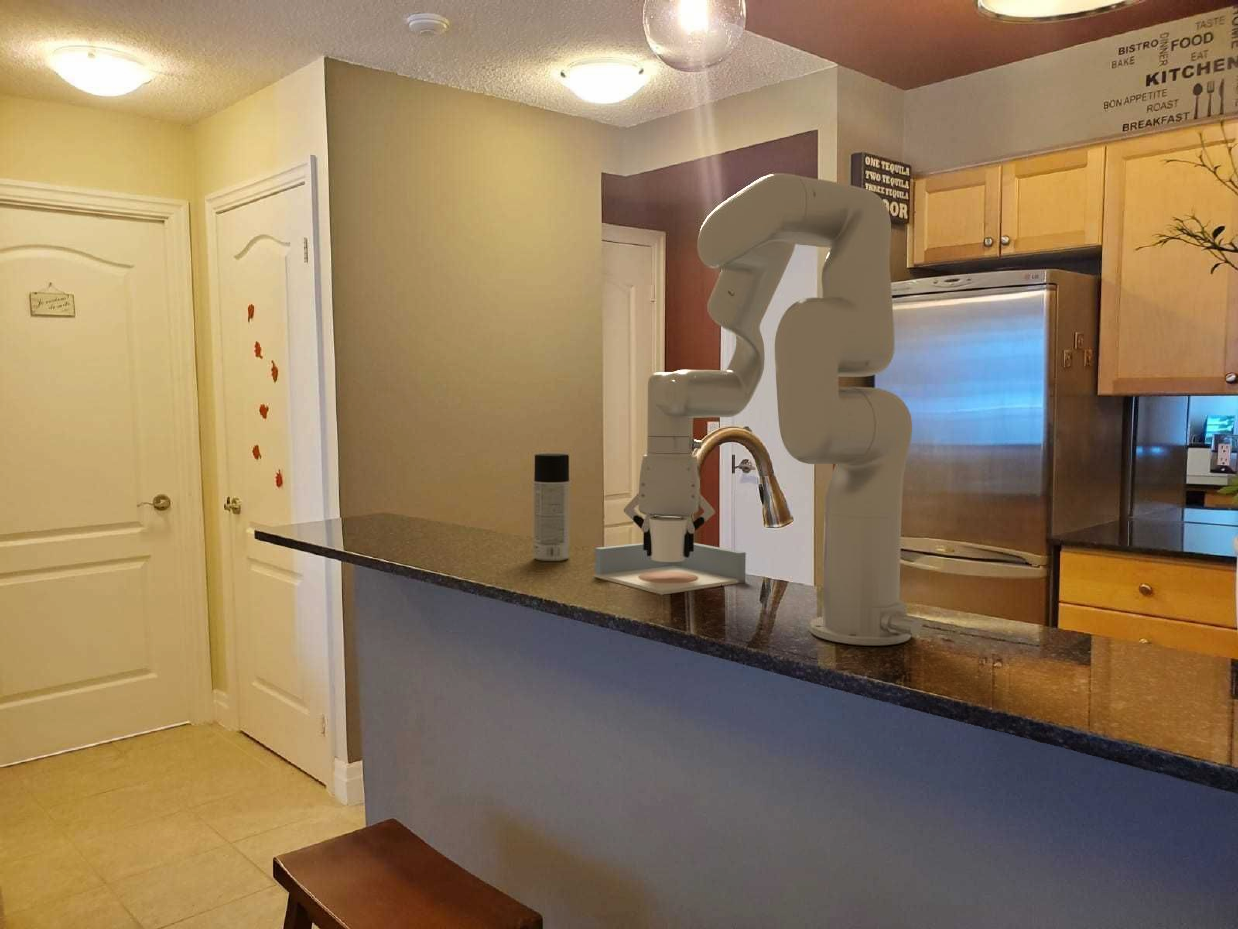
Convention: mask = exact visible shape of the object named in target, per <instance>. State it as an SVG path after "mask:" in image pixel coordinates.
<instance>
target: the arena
mask: <svg viewBox="0 0 1238 929" xmlns="http://www.w3.org/2000/svg"><path fill="white" fill-rule="evenodd" d="M746 558H747V553H746V551H740V550H735V549H729V548H723V547H718V546H713V545H708V544H703V543H702V544H701V543H697V542H694V551H693V552H690V555H689V557H685V560H684V561H680V562H660V561H654V560H652V559H651V556H647V550H643V542H640V543H631V544H630V543H629V544H620V545H619V544H618V545H611V546H600V547H594V577H595V578H597V579H602V580H605V581H608V582H612V583H617V584H620V585H624V586H628V587H631V588H635V589H639V590H643V591H646V592H649V593H650V592H651V593H654V594H658V595H662V596H664V595H667V594H669V595H670V594H677V593H682V592H689V591H697V590H701V589H702V590H703V589H710V588H716V587H721V585H722V587H723V586H729V585H734V584H735V585H736V584H742V583H746V563H747V562H746V560H747V559H746Z"/></svg>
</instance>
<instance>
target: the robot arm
mask: <svg viewBox="0 0 1238 929" xmlns="http://www.w3.org/2000/svg"><path fill="white" fill-rule="evenodd" d="M891 240H892V222H891V216H890V211H889V209H888V207H887V205H886V203H885V201H884V200H883V199H882V198H881V197H880V196H879V195H878V194H876V192H873V191H871V190H869V189H867V188H862V187H860V186H855V185H851V184H846V183H843V182H837V181H831V180H826V179H821V178H813V177H809V176H808V177H807V176H802V175H797V174H792V173H782V172H779V173H778V172H777V173H776V172H775V173H771V174H767V175H764V176H762V177H760V178H759V179H757V180H755V181H753V182H752V183H751V184H749V185H747V186H746V187H744V188H743V189H741V190H740V191H738V192H737V193H736V194H733V195H732V196H731V197H729V198H727V200H725V201H723V202H722V203H721V204H719V205H718V206H717V207H715V209H713V211H711V213H710V214H709V215H707V217H706V219H705V220H704V222H703V223H702V225H701V228H700V230H699V232H698V237H697V240H696V241H697V243H696V245H697V248H696V250H697V253H698V256H699V259H700V262H702V263H703V264H704V265H705V266H706V267H708V268H711V269H714V270H721V271H720V273H719V276H718V278H717V280H716V282H715V285H714V287H713V289H712V292H711V295H710V296H709V299H708V301H707V304H706V309H707V313H708V315H709V317H710V318H711V319H712V321H714V322H715V323H716V324H717V325H719V326H720V327H722V328H723V329H724V330H726V331H727V332H729V333H731V334H732V335H735V348H734V351H733V355H732V357H731V360H730V361H729V364H728V365H727V368H726V370H717V369H716V370H713V369H680V370H676V371H672V372H671V371H670V372H668V371H667V372H666V371H665V372H655V373H653V374H651V375H650V376H649V378H648V381H647V429H646V430H647V433H646V435H647V436H646V437H647V438H646V439H647V441H646V452H647V453H646V454H643V456H642V461H641V466H640V473H639V482H638V483H639V484H638V492H637V494H636V495H635V496H634V498H632V499H631V500H630V501H629V503H628V504H626V506H624V508H623V513H625V514H626V515H627V516H628V518H630V519H631V520H632V521H633V522H634V523H635V524H636V525H637V526H638V527H639V528H640V529H641V531H642V532H643V536H642V537H643V538H642V539H643V542H642V543H643V550H647V556H651V534H650V530H649V527H650V524H649V519H650V518H653V517H654V516H681V517H683V518H684V520H687V524H686V527H687V533H686V534H685V539H684V557H689V555H690V552H693V551H694V543H695V532H696V531H697V530H698V529H699V528H700V527H702V525H704V524H705V522H706V521H708V520H709V519H710V518H711V517H712V516H714V515H715V509H714V508H713V507H712V506H711V504H710V503H709V502H708V501H707V500H706V499H705V498H704V496H703V495H701V482H700V480H701V477H700V466H699V460H698V456H697V455H693V452H694V451H696V450H701V449H702V440H697V439H695V438H694V434H693V433H694V432H693V430H694V418H695V419H697V418H698V419H700V418H731V417H735V416H738V414H740V413H742V412H743V411H744V410H745V409H746V407H747V406H748V405H749V403H750V402H751V400H752V399H753V396H754V394H755V392H756V390H757V388H758V386H759V385H760V384H759V383H760V382H761V379H762V376H763V373H764V369H765V344H764V338H763V336H762V332H761V327H760V326H761V324H762V321H763V319H764V316H765V314H766V312H767V310H768V309H769V306H770V304H771V301H772V299H773V298H774V295H775V293H776V291H777V289H778V287H779V285H780V282H781V280H782V278H783V275H784V274H785V271H786V270H787V269H786V268H787V266H788V264H789V262H790V261H791V258H792V256H793V253H794V251H795V247H796V245H799V246H809V247H818V248H830V249H829V251H828V252H827V254H826V257H825V259H824V263H823V264H822V265H823V266H822V269H821V270H822V271H821V287H822V290H821V291H822V297H807V298H803V299H800V300H798V301H796V302H794V303H792V304H791V305H790V306H789V307H788V308H787V309H786V310H785V312H784V314H783V315H782V317H781V319H780V321H779V323H778V326H777V329H776V333H775V338H774V363H775V364H774V367H775V368H774V369H775V381H776V382H775V383H776V385H775V386H776V398H777V399H776V400H777V416H778V426H779V428H778V429H779V432H780V437H781V441H782V444H783V445H784V448H785V450H786V451H787V452H788V454H789V455H790V456H791V457H793V459H794V460H796V461H798V462H800V463H803V464H808V465H834V468H833V470H832V473H831V475H830V477H829V480H828V482H827V486H826V490H825V494H824V495H825V496H824V513H823V515H824V516H823V552H822V553H823V554H822V555H823V559H822V560H823V561H822V563H823V564H822V567H823V568H822V598H821V599H822V600H821V601H822V604H821V605H822V607H821V612H822V613H821V616H818V617H816V618H813V619H812V620H810V622H809V632H810V633H811V634H813V635H814V636H815V637H818V638H820V639H822V640H825V641H830V642H835V643H841V644H847V645H853V646H854V645H855V646H873V647H874V646H890V645H891V646H892V645H898V644H901V643H905V642H908V641H909V640H911V638H912V636H917V635H919V633H920V631H921V628H922V627H923V626H924V618H922V617H919V616H914V615H908V613H907V603H906V602H901V601H900V586H901V585H900V584H901V583H900V582H901V581H900V580H901V579H900V578H901V575H900V573H901V549H902V548H901V545H902V543H901V542H902V538H901V537H902V514H903V510H902V509H903V487H904V477H905V470H906V464H907V463H906V462H907V458H908V454H909V449H910V445H911V440H912V435H913V420H912V415H911V412H910V410H909V408H908V406H907V405H906V403H905V402H904V401H903V400H902V398H901V397H899V396H898V395H896V394H895V393H894V392H891V391H889V390H886V389H883V388H879V387H878V388H877V387H867V386H839V378H840V377H844V378H847V377H848V378H850V377H851V378H856V377H857V378H859V377H871V376H875V375H879V374H880V373H881V372H883V371H885V370H886V369H887V368H888V367H889V365H890V364H891V362H892V361H893V357H894V353H895V327H894V326H895V324H894V308H893V294H892V279H891V269H890V268H891V267H890V266H891V264H890V258H891V256H890V254H891V242H892V241H891ZM637 506H638V511H639V512H640V513H641V514H643V515H645V518H643V517H642V516H641V514H639V513H638V512H637V511H636V507H637ZM700 508H701V509H702V510H703V513H702V514H701V515H699V517H697V518H696V519H695V520H694V517H693V516H694V515H696V514H698V512H699V510H700Z"/></svg>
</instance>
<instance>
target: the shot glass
mask: <svg viewBox="0 0 1238 929" xmlns="http://www.w3.org/2000/svg"><path fill="white" fill-rule="evenodd" d="M649 524H650V527H649V530H650V534H651V559H652V560H654V561H660V562H680V561H684V560H685V557H684V539H685V534H686V533H687V527H686V524H687V520H684V518H683V516H659V515H655V516H654V517H653V518H650V519H649Z"/></svg>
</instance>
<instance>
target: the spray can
mask: <svg viewBox="0 0 1238 929" xmlns="http://www.w3.org/2000/svg"><path fill="white" fill-rule="evenodd" d="M533 478H534V480H533V482H534V483H533V484H534V485H533V487H534V488H533V492H534V494H533V495H534V497H533V498H534V499H533V500H534V502H533V508H534V510H533V511H534V514H533V517H534V518H533V520H534V521H533V523H534V527H533V528H534V529H533V531H534V534H533V535H534V538H533V540H534V543H533V544H534V545H533V548H534V549H533V551H534V552H533V554H534V555H533V556H534V559H535V560H536V561H541V562H560V561H561V562H563V561H565V560H568V559H569V556H570V456H569V454H567V453H537V454H535V455H534V477H533Z"/></svg>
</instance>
